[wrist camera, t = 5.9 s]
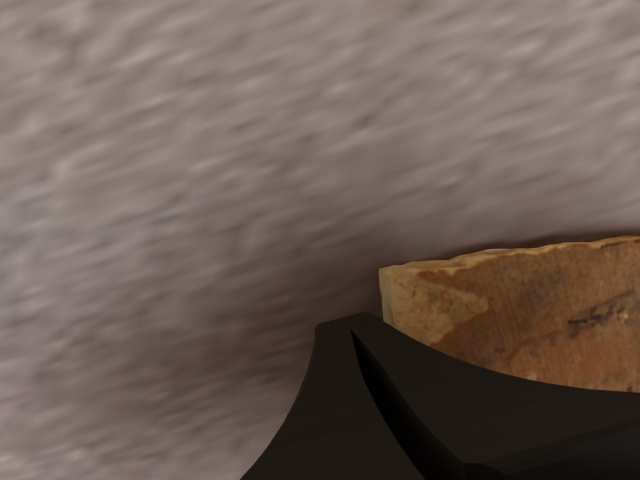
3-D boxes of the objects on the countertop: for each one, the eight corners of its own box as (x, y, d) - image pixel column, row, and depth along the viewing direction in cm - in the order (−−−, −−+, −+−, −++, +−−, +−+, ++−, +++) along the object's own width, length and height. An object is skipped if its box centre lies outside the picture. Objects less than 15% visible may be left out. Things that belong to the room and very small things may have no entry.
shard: (756, 204, 13) (831, 220, 12) (709, 436, 16) (766, 478, 14) (371, 244, 12) (390, 269, 10) (379, 489, 14) (396, 542, 13)
